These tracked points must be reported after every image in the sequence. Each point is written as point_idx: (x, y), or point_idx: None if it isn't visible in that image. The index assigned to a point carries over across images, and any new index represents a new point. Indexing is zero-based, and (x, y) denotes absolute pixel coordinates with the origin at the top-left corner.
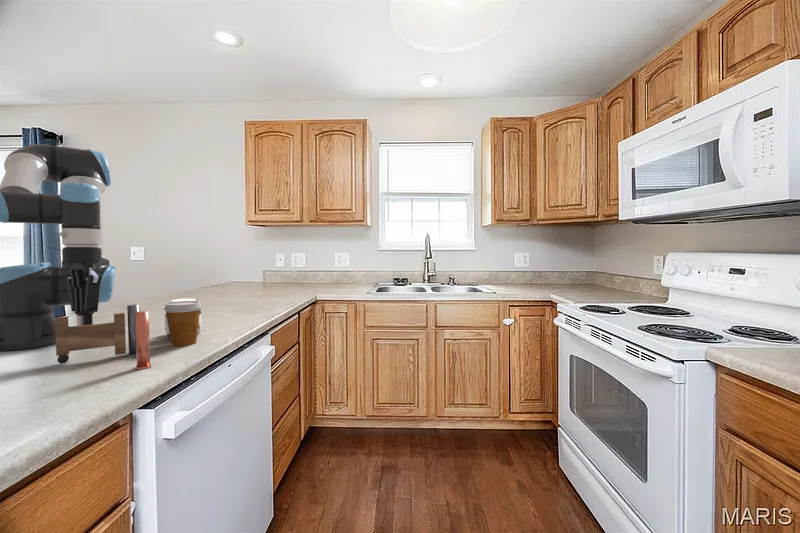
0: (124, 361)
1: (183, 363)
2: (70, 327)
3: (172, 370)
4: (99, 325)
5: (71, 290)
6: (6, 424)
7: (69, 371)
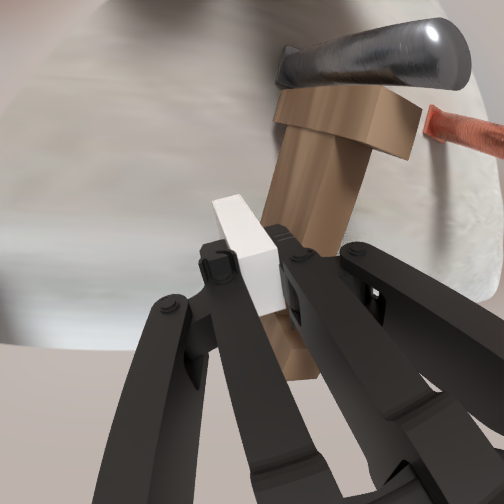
0: None
1: None
2: None
3: (480, 106)
4: (350, 208)
5: (193, 483)
6: None
7: None
